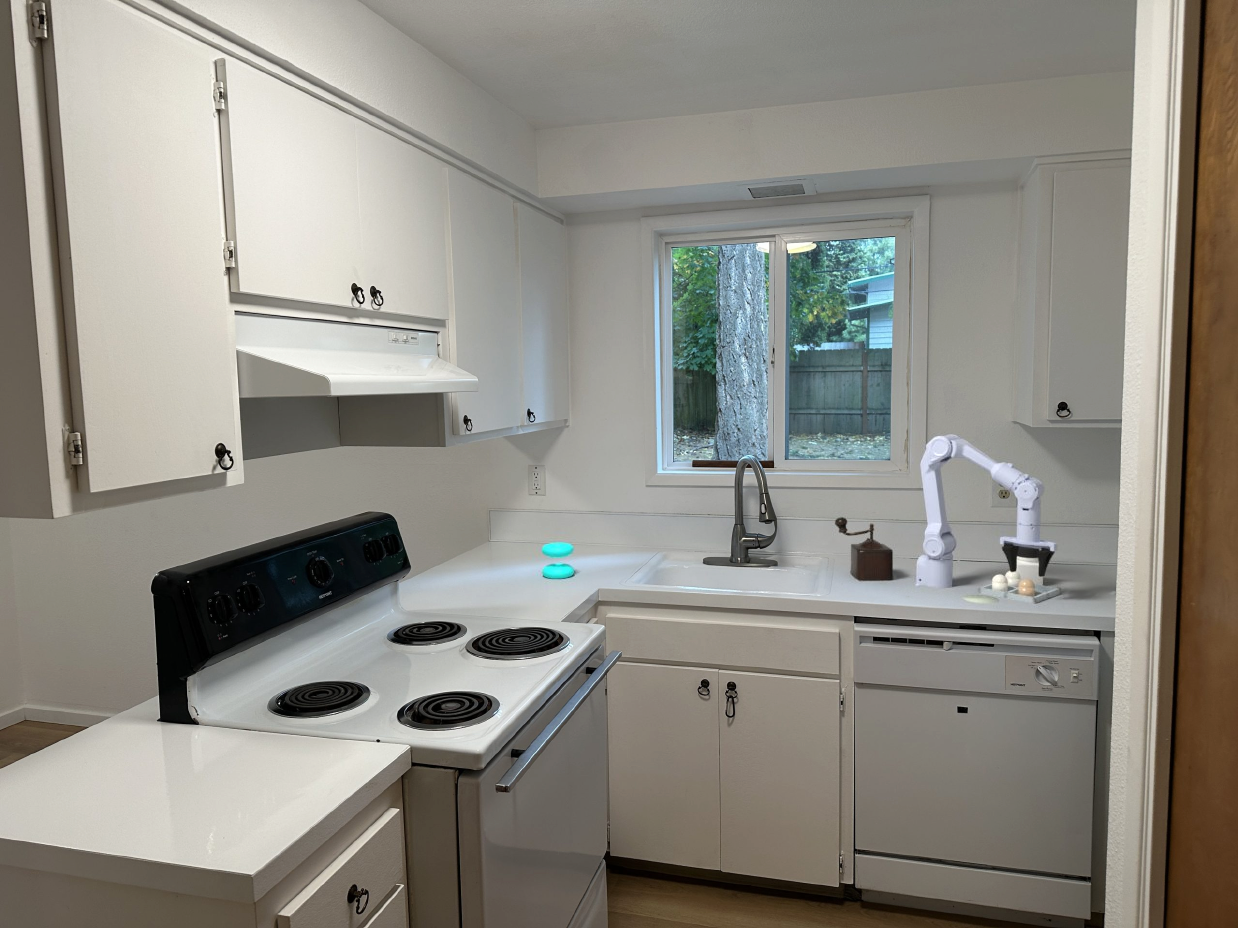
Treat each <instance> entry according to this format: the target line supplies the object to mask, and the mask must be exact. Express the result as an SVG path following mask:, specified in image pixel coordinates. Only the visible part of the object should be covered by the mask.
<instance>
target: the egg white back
mask: <svg viewBox="0 0 1238 928" xmlns="http://www.w3.org/2000/svg"><path fill="white" fill-rule="evenodd" d="M1004 576H1005V577H1006V578H1007V580H1008V586H1012V587H1018V588H1019V582H1020V580H1021V577H1020V574H1019V573H1018V572H1017V571H1015V572H1010V570H1007V572H1006V573H1005V575H1004Z"/></svg>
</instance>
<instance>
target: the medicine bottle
mask: <svg viewBox="0 0 1238 928" xmlns="http://www.w3.org/2000/svg"><path fill="white" fill-rule="evenodd" d="M1032 546H1034V545H1032ZM1039 550H1040V549H1037V548H1030V547H1022V546H1019V549H1018V554H1017V570H1016V571H1017V572H1018V573H1019V574H1020V577H1021V580H1023V579H1030V580H1032V581H1033V582H1034V584H1038V585H1044V576H1042V577H1039V574H1038V571H1039V561H1038V554H1037V551H1039ZM1021 580H1020V581H1021Z"/></svg>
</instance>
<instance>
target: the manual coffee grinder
mask: <svg viewBox="0 0 1238 928" xmlns="http://www.w3.org/2000/svg"><path fill="white" fill-rule="evenodd" d="M834 525H835V526H836V527H837V528H838V533H840V534H843V535H845V536H849V537H850V536H859V535H865V534H868V533H870V534H869V538H868V537H867V538H866V539H865V540H864V541H863V542H859V543H851V545H850V571H849V573H850V574H851V576H852V577H853V578H854V579H856V580H857V581H859V582H880V581H881V582H883V581H893V580H894V577H893V573H894V572H893V571H894V570H893V569H894V568H893V567H894V566H893V565H894V563H893V562H894V558H893V557H894V553H893V549H892V548H890V547H889V546H887V545H886V544H885V543H881V542H879V541H877V540H876V539H874V531H875V528H874V526H875V525H874V523H870V524H869V529H866V530H863V531H861V530H860V531H855V532H848V528H847V525H848V520H847V518H846V517H844V516H840V517H838V518H836V519H835V520H834Z"/></svg>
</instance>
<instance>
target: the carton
mask: <svg viewBox="0 0 1238 928" xmlns="http://www.w3.org/2000/svg"><path fill="white" fill-rule="evenodd" d="M1061 591H1062V589H1061V587H1054V586H1049V585H1044V584H1043V585H1038V584H1035V597H1030V596H1024V595H1019V594H1018V587H1012V586H1008V592H1002V591H997V590H992V583H989V584H986V585H982V586H980V587H978V590H977V593H978V594H980V595H985V596H991V597H996V598H1003V599H1008V600H1014V601H1019V602H1025V603H1029V604H1037V603H1040V602H1042V601H1044V600H1047V599H1050V598H1052V597H1055V596H1058V595H1060V594H1062V593H1061Z"/></svg>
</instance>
